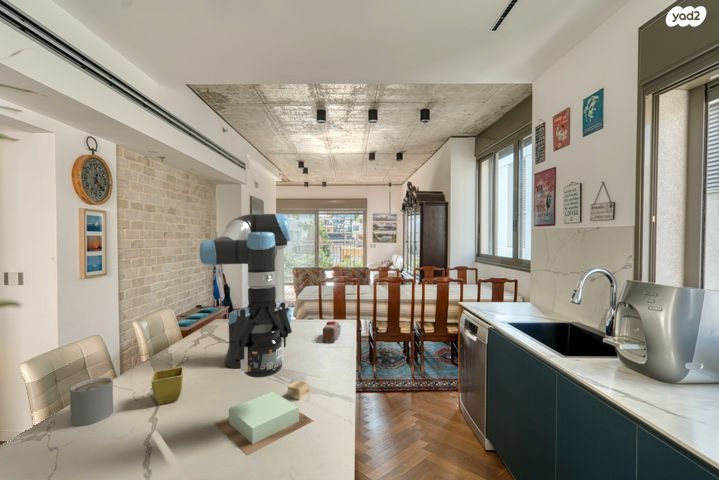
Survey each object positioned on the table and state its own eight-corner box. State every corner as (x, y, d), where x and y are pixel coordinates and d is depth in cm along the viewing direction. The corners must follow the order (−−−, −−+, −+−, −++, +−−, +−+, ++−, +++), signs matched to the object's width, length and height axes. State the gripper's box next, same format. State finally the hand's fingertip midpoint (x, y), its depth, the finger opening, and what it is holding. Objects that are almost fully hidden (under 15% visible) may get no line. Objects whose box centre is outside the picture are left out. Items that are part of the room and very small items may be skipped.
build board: (213, 428, 91) (213, 423, 91) (276, 402, 105) (276, 397, 105) (247, 461, 77) (247, 455, 77) (313, 426, 91) (313, 420, 91)
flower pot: (151, 409, 102) (151, 381, 102) (154, 397, 110) (153, 371, 110) (183, 402, 106) (182, 375, 106) (183, 391, 114) (183, 366, 114)
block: (287, 401, 106) (287, 386, 106) (297, 394, 110) (297, 380, 110) (299, 405, 103) (299, 389, 103) (309, 398, 108) (309, 383, 108)
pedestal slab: (228, 422, 91) (228, 408, 91) (272, 404, 101) (272, 391, 101) (252, 444, 81) (252, 428, 81) (298, 421, 91) (298, 407, 91)
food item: (327, 335, 178) (327, 317, 178) (341, 336, 177) (341, 318, 177) (321, 343, 165) (321, 324, 165) (336, 344, 164) (336, 324, 164)
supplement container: (242, 367, 94) (241, 326, 94) (279, 361, 98) (278, 322, 98) (244, 382, 84) (244, 336, 84) (285, 375, 88) (284, 331, 88)
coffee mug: (98, 425, 94) (97, 390, 94) (61, 427, 93) (60, 392, 93) (127, 402, 107) (126, 372, 107) (95, 403, 106) (94, 373, 106)
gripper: (227, 293, 80) (228, 381, 80) (303, 283, 97) (304, 356, 97) (215, 290, 86) (216, 373, 86) (289, 281, 102) (290, 351, 102)
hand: (263, 364), depth 91 cm, fingers closed on supplement container, 10 cm apart
